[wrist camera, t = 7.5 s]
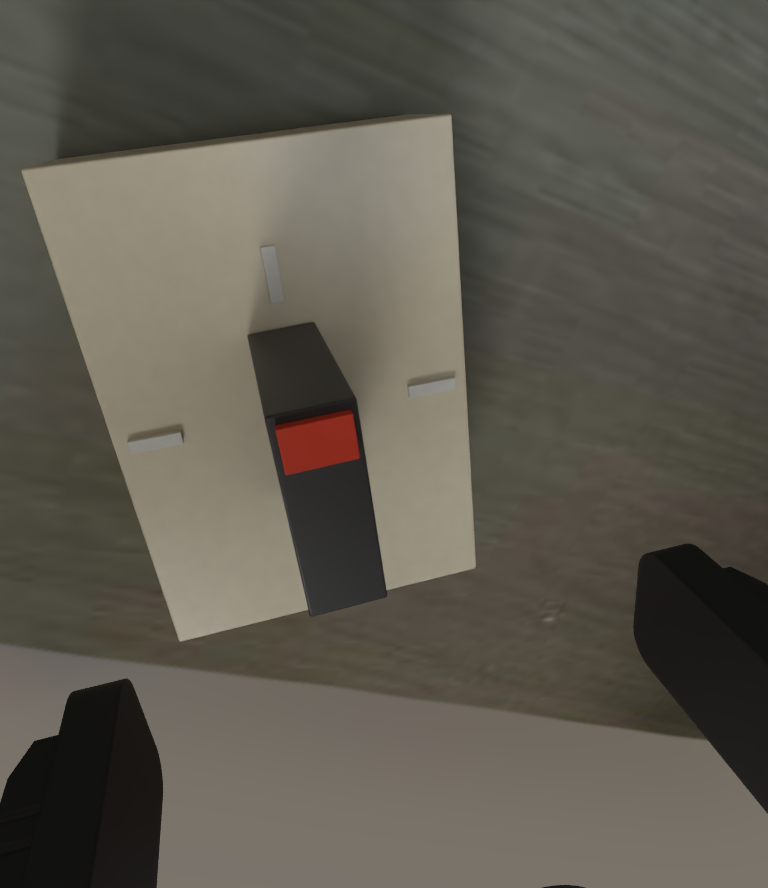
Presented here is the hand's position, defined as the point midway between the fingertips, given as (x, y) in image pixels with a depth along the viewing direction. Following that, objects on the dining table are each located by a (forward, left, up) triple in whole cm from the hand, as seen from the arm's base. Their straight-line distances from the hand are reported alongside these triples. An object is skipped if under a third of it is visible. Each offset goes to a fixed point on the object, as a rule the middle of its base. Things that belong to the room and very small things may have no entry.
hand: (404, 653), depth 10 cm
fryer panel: (0, 0, -14) cm, 14 cm away
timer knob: (0, 0, -10) cm, 10 cm away
